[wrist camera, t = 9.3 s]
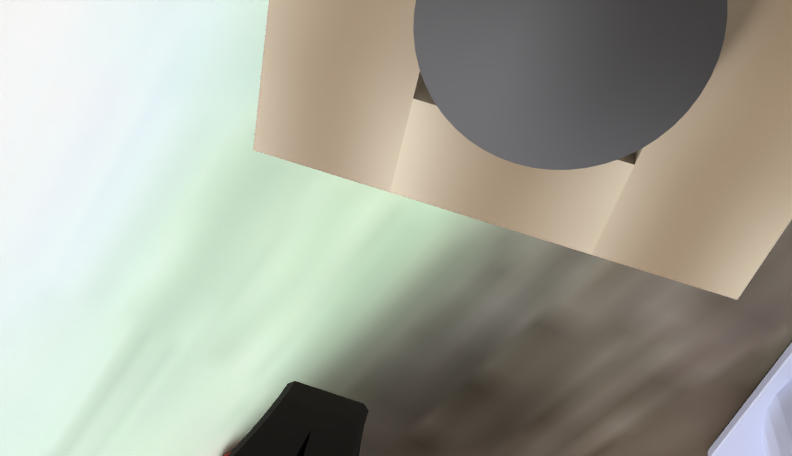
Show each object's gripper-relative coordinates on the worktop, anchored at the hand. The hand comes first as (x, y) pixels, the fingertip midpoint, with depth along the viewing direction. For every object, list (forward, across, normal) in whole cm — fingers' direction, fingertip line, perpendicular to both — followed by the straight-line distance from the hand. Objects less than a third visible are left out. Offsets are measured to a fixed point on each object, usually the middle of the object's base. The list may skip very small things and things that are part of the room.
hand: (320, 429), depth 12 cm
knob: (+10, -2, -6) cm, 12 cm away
